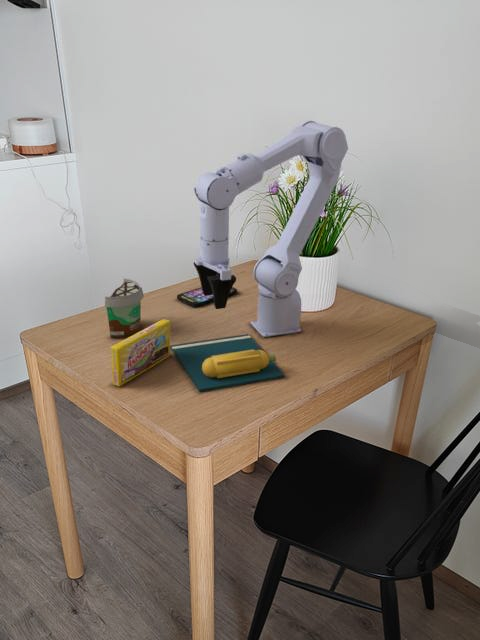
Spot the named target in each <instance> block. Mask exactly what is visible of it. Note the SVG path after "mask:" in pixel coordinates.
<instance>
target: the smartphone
mask: <svg viewBox="0 0 480 640" xmlns="http://www.w3.org/2000/svg"><path fill="white" fill-rule="evenodd" d="M237 293H238V289H237V288H235V287H234V286H232V288H231V291H230V293H229V296H228V297H230V296H232V295H235V294H237ZM176 300H178V301H180V302H181V303H184V304H186V305H188V306H191V307H194V308H195V307H200V306H203V305H205V304H209V303H213V302H214V300H213V295H207V296H204V294H203V291H202V287H201V286H200V287H197V288H194V289H191V290H188V291H185V292H181V293H179V294H176Z"/></svg>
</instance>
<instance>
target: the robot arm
mask: <svg viewBox="0 0 480 640" xmlns="http://www.w3.org/2000/svg"><path fill="white" fill-rule="evenodd" d="M348 150H349V146H348V141H347V137H346V134H345V132H344V130H343V129H342V128H340V127H338V126H331V125H327V124H323V123H319V122H316V121H314V120H307V121H305V122H303V123H302V124H301V125H297V126H294V128H293V129H292V130H291V132H290V133H288V134H286V135H285V136H283V137H281V138H280V139H279V140H277V141H276V142H274V143H273V144H271V145H270V146H268V147H267V148H265V149H264V150H262V151H261V152H259V153H258V154H256V155H254V154H252V153H243V152H241V153H238V154H237V155H236V159H235V160H233V161H232V162H230V163H228V164H226V165H225V166H221V165H220V166H218V167H217V168H216V170H215V172H211V171H209V172H205V173H203V174H202V175H201V176H200V177H199V179H198V180H197V182H196V185H195V187H194V188H193V191H194V192H193V193H194V195H195V198H196V199H197V200H198V202H199V240H200V241H199V245H200V246H199V247H200V248H198V258H195V259H194V261H193V266H194V268H195V270H196V272H197V275H198V278H199V282H200V287H202V291H203V294H204V296H207V295H213V300H214V301H213V305H214V308H215V310H222V309H226V308H227V304H228V301H229V297H230V296H229V293H230V291H231V288H232V287H234V284H236V282H237V277H236V276H235V275H234V274H232V269H231V268H230V258H229V244H230V243H229V242H230V241H229V239H230V238H229V237H230V236H229V232H230V230H229V229H230V207H231V205H232V204H233V203H234V201H235V199H236V197H237V196H238V195H240V194H242V193H243V192H245V191H246V190H248V189H250V188H252V187H254V186H255V185H257V184H259V183H260V182H262V180H263V178H264V174H265V172H267V171H269V170H271V169H273V168H275V167H277V166H279V165H281V164H282V163H283V164H284V163H286V162H288V161H289V160H290V159H293V158H295V157H297V156H301V157H302V158H303V159H304V161H305V162H306V164H307V167H308V171H309V174H310V175H309V176H310V177H309V178H308V180H307V183H306V185H305V187H304V188H303V191H302V192H301V195H300V197H299V198H298V200H297V203H296V205H295V206H294V209H293V211H292V212H291V215H290V217H289V219H288V221H287V223H286V224H285V227H284V229H283V230H282V233H281V235H280V237H279V239H278V241H277V243H276V244H275V245H273V246H271V247H269V248H267V249H266V251H265V253H264V254H263V255H262V257H261V258H260V259H259V260H258V261H257V262H256V263H255V265H254V268H253V272H252V274H253V275H252V276H253V278H254V280H255V281H256V283H257V289H258V294H257V295H258V296H257V314H256V315H257V317H256V319H257V320H254V321H250V325H251V326H252V327H253V328H254V329H255V330H256V331H257V333H258V334H260V335H261V337H263V338H269V337H276V336H282V335H289V334H296V333H300V332H302V329H301V328H300V327H301V317H302V298H301V295H300V292H299V291H298V289H297V287H298V284H299V278H300V274H301V272H302V270H303V266H302V263H301V258H300V256H301V254H302V252H303V249H304V248H305V245H306V243H307V242H308V240H309V238H310V236H311V234H312V232H313V230H314V228H315V226H316V224H317V222H318V220H319V218H320V216H321V214H322V212H323V211H324V209H325V207H326V204H327V203H328V201H329V198H330V197H331V195H332V193H333V191H334V188H335V186H336V185H337V183H338V181H339V179H340V173H341V168H342V163H343V160H344V158H345V156H346V154H347V152H348Z"/></svg>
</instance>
